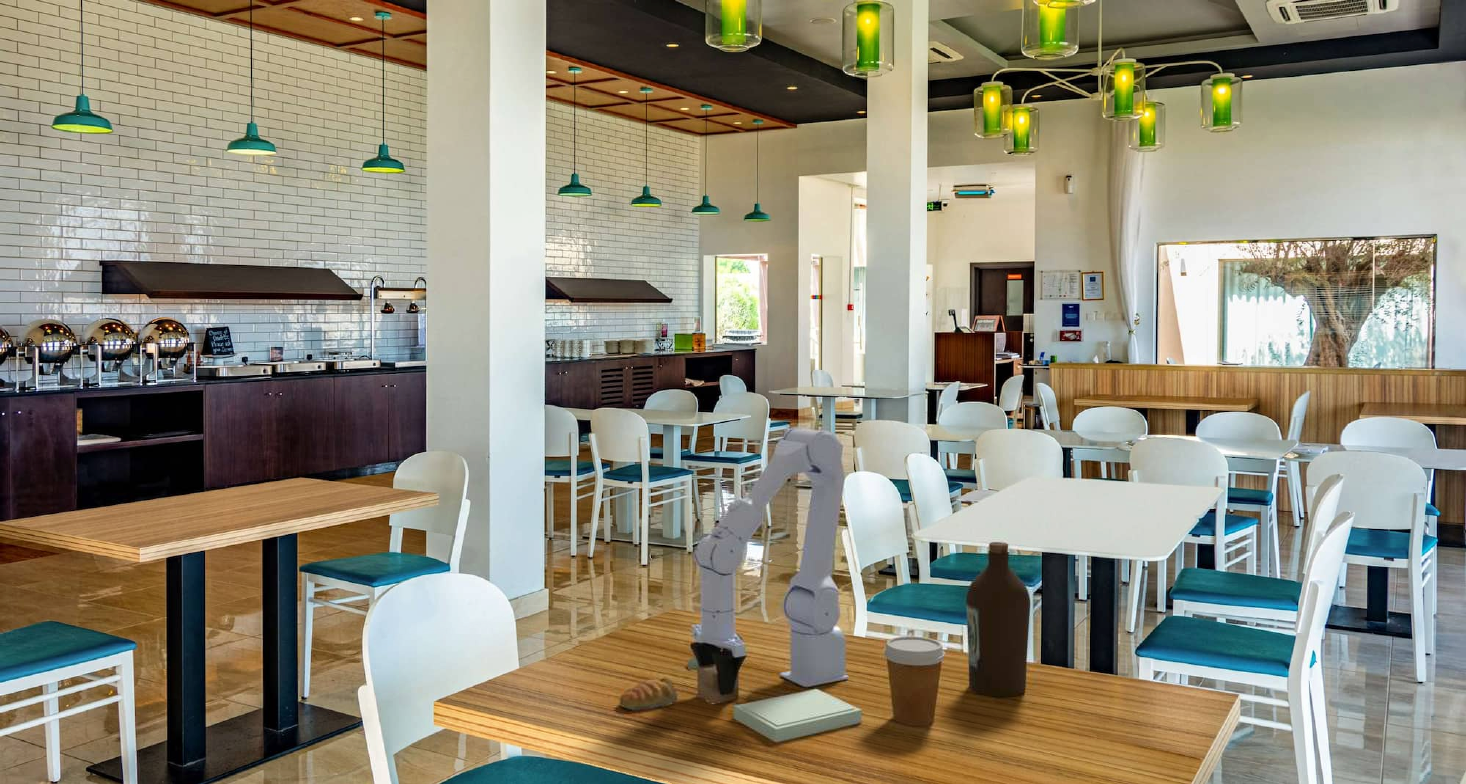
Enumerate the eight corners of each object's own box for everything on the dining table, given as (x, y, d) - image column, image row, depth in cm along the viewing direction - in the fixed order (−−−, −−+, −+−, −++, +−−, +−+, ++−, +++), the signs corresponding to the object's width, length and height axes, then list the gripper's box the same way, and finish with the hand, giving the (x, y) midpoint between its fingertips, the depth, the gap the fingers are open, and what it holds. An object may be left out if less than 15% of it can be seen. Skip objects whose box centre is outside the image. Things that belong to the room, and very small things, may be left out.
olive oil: (1022, 679, 188) (1024, 538, 187) (1035, 699, 178) (1036, 550, 177) (961, 678, 189) (962, 537, 188) (970, 698, 179) (971, 549, 177)
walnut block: (723, 691, 183) (723, 662, 182) (738, 699, 178) (738, 669, 178) (697, 696, 180) (697, 666, 180) (712, 704, 176) (712, 674, 175)
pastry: (634, 716, 171) (634, 693, 170) (610, 706, 176) (610, 683, 176) (681, 703, 177) (681, 680, 177) (657, 693, 182) (656, 671, 182)
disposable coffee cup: (907, 734, 162) (908, 655, 162) (871, 714, 171) (871, 640, 170) (957, 723, 167) (957, 647, 166) (919, 705, 175) (920, 632, 175)
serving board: (816, 700, 177) (816, 687, 177) (861, 722, 167) (861, 708, 167) (733, 718, 169) (733, 704, 169) (776, 742, 159) (776, 728, 159)
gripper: (675, 602, 182) (676, 681, 183) (719, 621, 170) (719, 705, 171) (711, 597, 186) (711, 674, 187) (756, 615, 174) (756, 698, 174)
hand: (717, 689), depth 179 cm, fingers closed on walnut block, 5 cm apart
